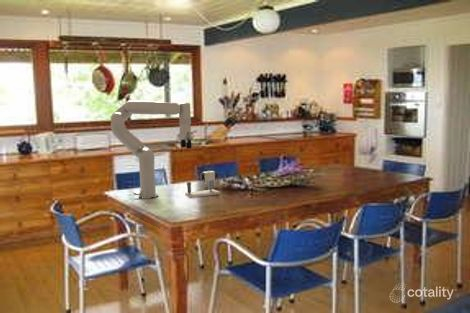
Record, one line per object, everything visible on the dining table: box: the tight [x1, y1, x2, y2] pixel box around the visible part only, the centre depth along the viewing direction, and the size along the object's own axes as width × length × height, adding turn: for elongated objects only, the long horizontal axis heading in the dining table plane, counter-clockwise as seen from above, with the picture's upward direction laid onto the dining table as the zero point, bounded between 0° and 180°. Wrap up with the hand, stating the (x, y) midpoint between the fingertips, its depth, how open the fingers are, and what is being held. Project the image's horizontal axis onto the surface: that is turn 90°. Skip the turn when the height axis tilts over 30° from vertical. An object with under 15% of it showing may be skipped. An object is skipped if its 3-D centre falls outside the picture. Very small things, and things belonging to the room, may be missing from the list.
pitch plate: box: [184, 181, 221, 199], centre depth 323 cm, size 20×10×9 cm, turn 116°
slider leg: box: [206, 179, 215, 191], centre depth 326 cm, size 3×3×7 cm
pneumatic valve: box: [199, 169, 218, 189], centre depth 349 cm, size 6×12×12 cm, turn 113°
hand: (186, 147), depth 327 cm, fingers open, 9 cm apart
